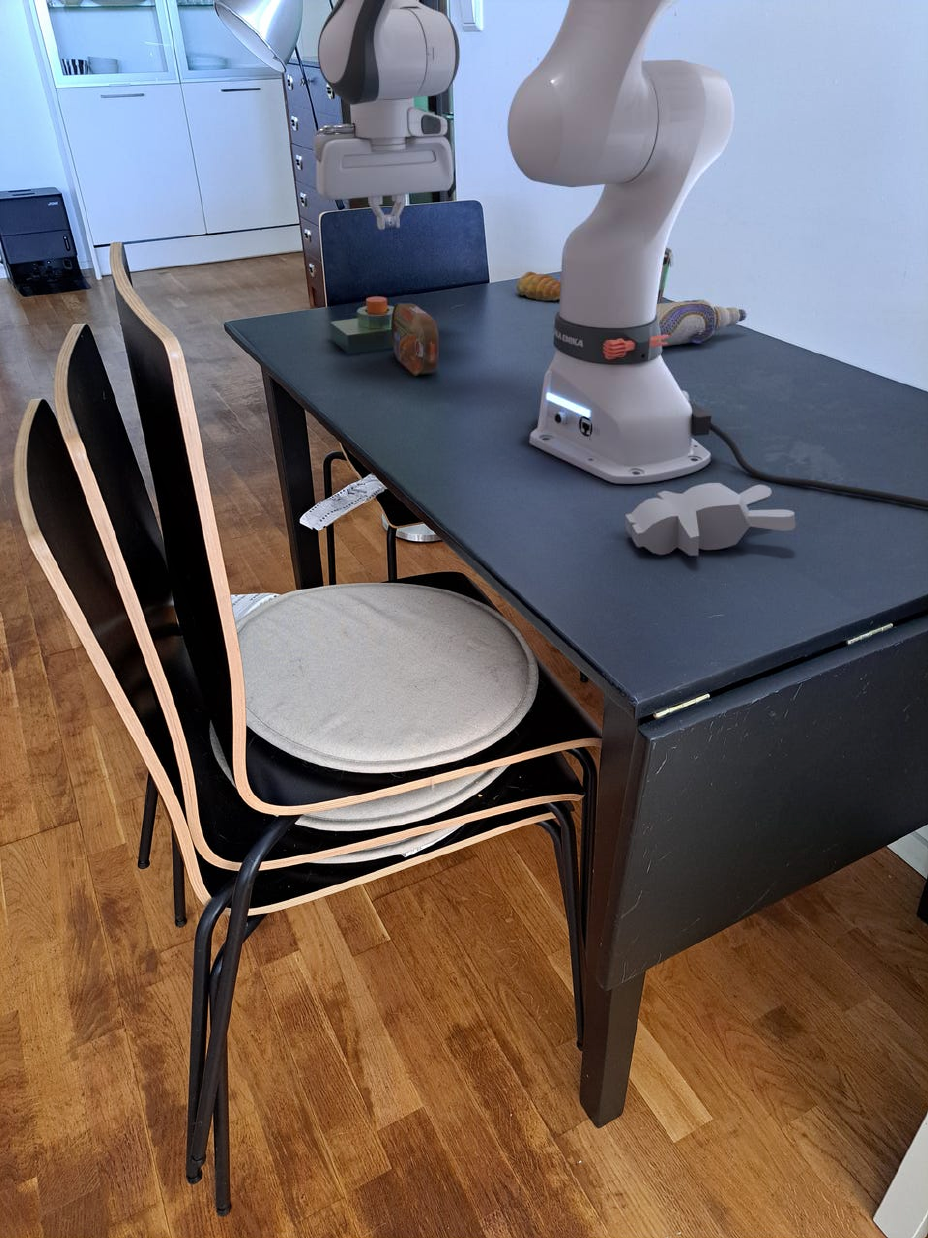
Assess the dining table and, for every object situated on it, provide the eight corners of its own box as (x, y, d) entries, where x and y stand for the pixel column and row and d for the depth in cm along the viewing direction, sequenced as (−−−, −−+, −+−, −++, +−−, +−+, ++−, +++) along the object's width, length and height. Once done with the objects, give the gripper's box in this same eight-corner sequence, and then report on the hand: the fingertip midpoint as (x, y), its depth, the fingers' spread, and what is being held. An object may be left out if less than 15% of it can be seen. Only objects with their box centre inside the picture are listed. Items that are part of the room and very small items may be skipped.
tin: (390, 353, 136) (387, 296, 132) (409, 350, 137) (407, 294, 133) (421, 383, 125) (420, 323, 120) (442, 381, 126) (441, 320, 121)
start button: (390, 313, 138) (389, 300, 137) (371, 316, 137) (370, 302, 136) (382, 308, 140) (382, 295, 139) (363, 311, 139) (363, 297, 138)
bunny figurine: (616, 487, 88) (762, 461, 88) (617, 532, 90) (759, 506, 91) (646, 532, 80) (806, 503, 81) (646, 580, 83) (801, 551, 84)
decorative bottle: (618, 361, 132) (622, 316, 129) (593, 348, 138) (596, 304, 135) (758, 340, 141) (766, 297, 137) (729, 328, 147) (735, 286, 143)
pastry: (574, 297, 163) (576, 276, 161) (550, 305, 159) (551, 283, 157) (536, 288, 169) (537, 267, 166) (512, 295, 165) (512, 274, 163)
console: (426, 343, 141) (425, 310, 138) (348, 354, 136) (346, 321, 133) (406, 330, 146) (405, 298, 144) (331, 340, 142) (329, 308, 139)
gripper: (319, 127, 118) (329, 238, 125) (457, 119, 125) (458, 225, 133) (304, 123, 122) (314, 231, 130) (438, 117, 130) (441, 219, 137)
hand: (388, 228), depth 131 cm, fingers closed
